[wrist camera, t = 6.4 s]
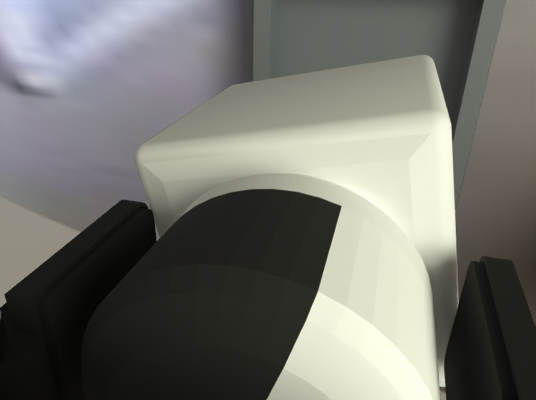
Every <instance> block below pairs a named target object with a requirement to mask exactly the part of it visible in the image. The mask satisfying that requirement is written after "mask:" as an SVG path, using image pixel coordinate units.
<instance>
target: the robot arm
mask: <svg viewBox="0 0 536 400" xmlns="http://www.w3.org/2000/svg"><path fill="white" fill-rule="evenodd" d="M155 243H156V232H155V222H154V214H153V211H152V210H150V209H148V207H147V205H146V204H145V203H142V202H136V201H129V200H121V201H119V202H118V203H117V204H116V205H115V206H113V207H112V208H111V209H110V210H108V211H107V212H106V213H105V214H103V215H102V216H101V217H100V218H98V219H97V220H96V221H95V222H94V223H92V224H91V225H90V226H89V227H87V228H86V229H85V230H84V231H82V232H81V233H80V234H79V235H77V237H75V238H74V239H72V240H71V241H70V242H69V243H68V244H66V245H65V246H64V247H63V248H62V249H60V250H59V251H58V252H56V253H55V254H54V255H53V256H52V257H51V258H49V259H48V260H47V261H45V262H44V263H43V264H42V265H40V266H39V267H38V268H37V269H35V270H34V271H33V272H32V273H30V274H29V275H28V276H27V277H25V278H24V279H23V280H22V281H21V282H19V283H18V284H17V285H16V286H14V287H13V288H12V289H11V290H9V291H8V292H7V293H6V294H5V298H6V301H7V303H6V304H4V305H3V306H2V307H1V308H0V400H85V395H84V390H83V383H82V369H81V348H82V341H83V335H84V332H85V330H86V327H87V324H88V322H89V319H90V318H91V316H92V315H93V313H94V312H95V310H96V308H97V307H98V305H99V304H100V303H101V302H102V301H103V300H104V299H105V298H106V296H107V295H108V294H109V293H110V292H111V291H112V290H113V289H114V288H115V287H116V286H117V285H118V283H119V282H120V281H121V280H122V279H123V278H124V277H125V276H126V275H127V274H128V273H129V271H130V270H131V269H132V268H133V267H134V266H135V265H136V264H137V263H138V262H139V261H140V259H141V258H142V257H143V256H144V255H145V254H146V253H147V252H148V251H149V250H150V249H151V247H152V246H153V245H154V244H155ZM444 377H445V388H446V400H536V327H535V324H534V321H533V319H532V316H531V313H530V310H529V307H528V304H527V302H526V299H525V296H524V293H523V290H522V287H521V285H520V282H519V279H518V276H517V273H516V270H515V267H514V265H513V262H512V261H510V260H505V259H498V258H492V257H486V256H483V257H481V259H480V261H479V262H475V261H471V262H470V264H469V267H468V271H467V275H466V279H465V282H464V286H463V290H462V293H461V297H460V301H459V304H458V308H457V312H456V316H455V319H454V323H453V327H452V330H451V334H450V338H449V341H448V345H447V349H446V353H445V358H444Z"/></svg>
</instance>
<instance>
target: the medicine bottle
mask: <svg viewBox="0 0 536 400" xmlns="http://www.w3.org/2000/svg"><path fill="white" fill-rule="evenodd" d="M135 163H136V166H137V169H138V172H139V175H140V178H141V181H142V184H143V187H144V190H145V193H146V196H147V199H148V202H149V205H150V208H151V210H152V211H153V214H154V220H155V224H156V227H157V230H158V233H159V236H160V239H159V240H158V241H157V242H156V243H155V244H154V245H153V246H152V247H151V249H150V250H149V251H148V252H147V253H146V254H145V255H144V256H143V257H142V258H141V259H140V261H139V262H138V263H137V264H136V265H135V266H134V267H133V268H132V269H131V270H130V271H129V273H128V274H127V275H126V276H125V277H124V278H123V279H122V280H121V281H120V282H119V283H118V285H117V286H116V287H115V288H114V289H113V290H112V291H111V292H110V293H109V294H108V295H107V296H106V298H105V299H104V300H103V301H102V302H101V303H100V304H99V305H98V307H97V308H96V310H95V312H94V313H93V315H92V316H91V318H90V319H89V322H88V324H87V327H86V330H85V332H84V335H83V341H82V348H81V369H82V383H83V390H84V395H85V400H441V398H440V387H445V377H444V358H445V353H446V349H447V345H448V341H449V338H450V334H451V330H452V327H453V323H454V319H455V316H456V312H457V308H458V304H459V300H458V275H457V251H456V227H455V202H454V178H453V153H452V129H451V122H450V118H449V114H448V111H447V107H446V103H445V100H444V96H443V93H442V89H441V85H440V82H439V78H438V74H437V71H436V67H435V64H434V61H433V59H432V58H431V57H429V56H428V55H417V56H411V57H405V58H398V59H392V60H386V61H379V62H373V63H367V64H360V65H354V66H348V67H341V68H335V69H329V70H322V71H316V72H310V73H303V74H297V75H291V76H284V77H278V78H272V79H265V80H259V81H253V82H246V83H240V84H234V85H231V86H229V87H228V88H226V89H225V90H223V91H222V92H220V93H219V94H217V95H216V96H214V97H213V98H211V99H210V100H208V101H207V102H205V103H204V104H202V105H201V106H199V107H198V108H196V109H195V110H193V111H192V112H190V113H189V114H187V115H186V116H184V117H182V118H181V119H179V120H178V121H176V122H175V123H173V124H172V125H170V126H169V127H167V128H166V129H164V130H163V131H161V132H160V133H158V134H157V135H155V136H154V137H152V138H151V139H149V140H148V141H146V142H145V143H143V144H142V145H140V146H139V148H138V150H137V151H136V153H135Z"/></svg>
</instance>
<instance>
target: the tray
mask: <svg viewBox="0 0 536 400" xmlns="http://www.w3.org/2000/svg"><path fill="white" fill-rule="evenodd" d="M505 3H506V0H254V26H253V81H259V80H265V79H272V78H278V77H284V76H291V75H297V74H303V73H310V72H316V71H322V70H329V69H335V68H341V67H348V66H354V65H360V64H367V63H373V62H379V61H386V60H392V59H398V58H405V57H411V56H417V55H428V56H429V57H431V58H432V59H433V61H434V64H435V67H436V71H437V74H438V78H439V82H440V85H441V89H442V93H443V96H444V100H445V103H446V107H447V111H448V114H449V118H450V122H451V129H452V153H453V178H454V202H455V211H456V207H457V203H458V198H459V194H460V190H461V186H462V182H463V178H464V173H465V169H466V165H467V161H468V157H469V153H470V148H471V144H472V140H473V136H474V132H475V128H476V123H477V119H478V115H479V111H480V107H481V103H482V98H483V94H484V90H485V86H486V82H487V78H488V74H489V69H490V65H491V61H492V57H493V53H494V49H495V44H496V40H497V36H498V32H499V28H500V24H501V19H502V15H503V11H504V7H505Z"/></svg>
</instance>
